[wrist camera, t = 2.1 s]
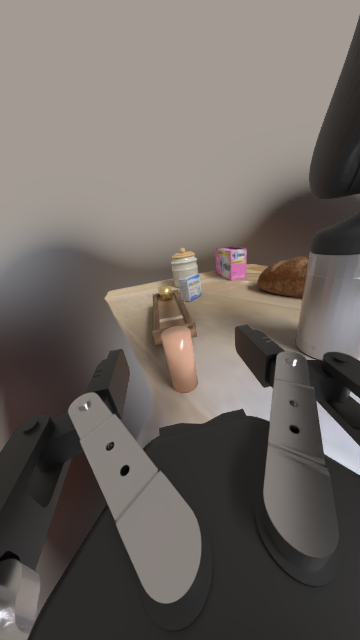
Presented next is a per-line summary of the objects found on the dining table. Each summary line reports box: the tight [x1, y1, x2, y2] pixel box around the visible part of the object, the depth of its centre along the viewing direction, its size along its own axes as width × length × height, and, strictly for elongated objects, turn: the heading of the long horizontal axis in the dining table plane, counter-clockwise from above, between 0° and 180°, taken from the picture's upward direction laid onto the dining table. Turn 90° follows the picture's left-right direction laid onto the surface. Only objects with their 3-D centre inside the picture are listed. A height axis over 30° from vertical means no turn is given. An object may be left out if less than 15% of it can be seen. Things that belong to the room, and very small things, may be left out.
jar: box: [171, 248, 198, 288], centre depth 85 cm, size 13×13×18 cm
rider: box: [161, 326, 198, 393], centre depth 28 cm, size 4×4×10 cm
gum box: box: [216, 246, 247, 281], centre depth 91 cm, size 24×8×14 cm, turn 7°
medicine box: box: [178, 274, 201, 302], centre depth 67 cm, size 8×4×9 cm, turn 139°
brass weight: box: [158, 285, 173, 301], centre depth 56 cm, size 4×4×4 cm
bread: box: [257, 256, 309, 298], centre depth 56 cm, size 16×29×11 cm, turn 41°
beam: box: [152, 290, 197, 345], centre depth 49 cm, size 9×28×6 cm, turn 8°
